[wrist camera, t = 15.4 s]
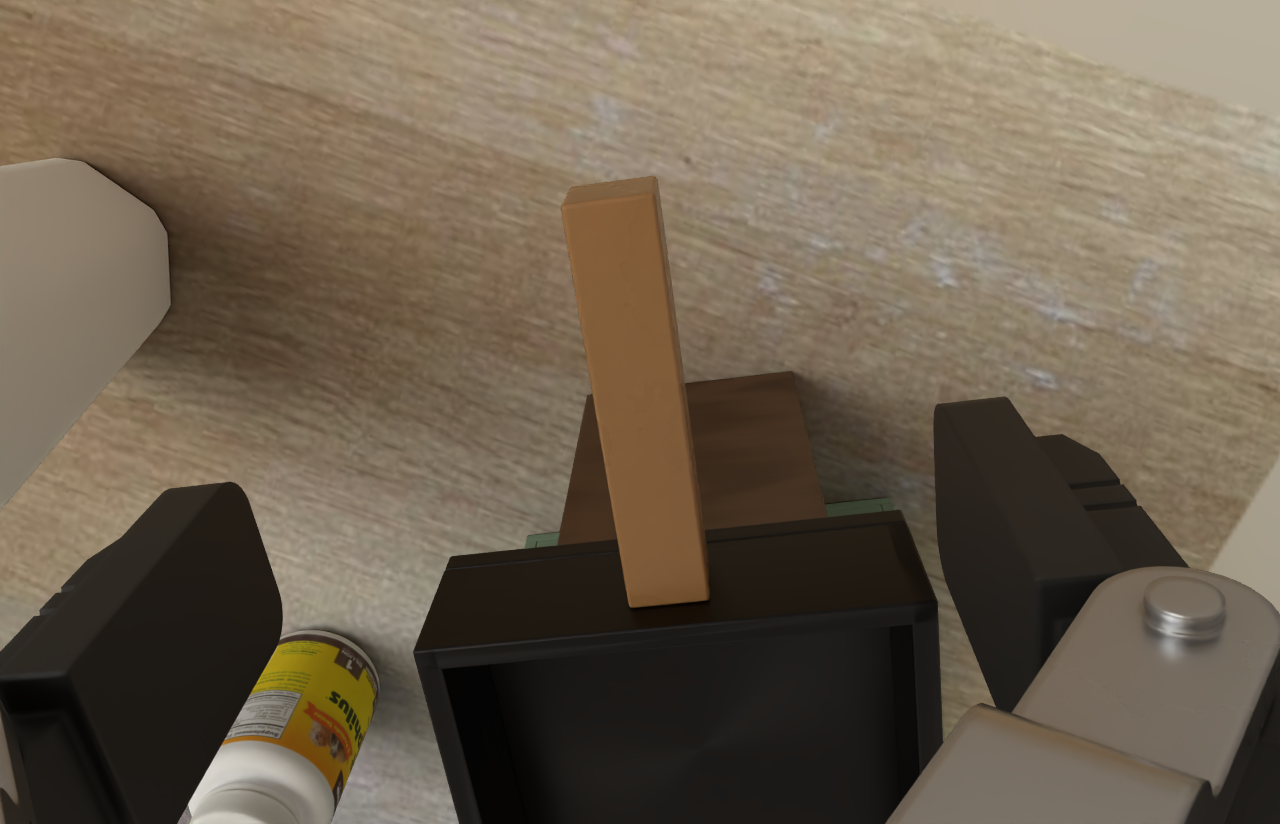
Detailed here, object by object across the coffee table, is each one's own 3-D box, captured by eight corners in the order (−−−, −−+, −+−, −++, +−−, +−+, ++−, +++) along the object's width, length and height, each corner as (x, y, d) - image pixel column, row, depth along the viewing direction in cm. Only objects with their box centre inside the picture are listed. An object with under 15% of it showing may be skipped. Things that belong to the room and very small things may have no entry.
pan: (882, 131, 20) (921, 165, 16) (921, 886, 27) (953, 1015, 24) (363, 202, 21) (302, 248, 17) (536, 914, 28) (517, 1042, 25)
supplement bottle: (392, 722, 49) (324, 910, 39) (273, 723, 49) (177, 910, 40) (374, 621, 46) (297, 796, 37) (249, 623, 47) (141, 797, 37)
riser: (791, 370, 41) (865, 664, 24) (800, 462, 42) (874, 795, 26) (586, 394, 41) (525, 695, 25) (602, 484, 43) (554, 821, 27)
